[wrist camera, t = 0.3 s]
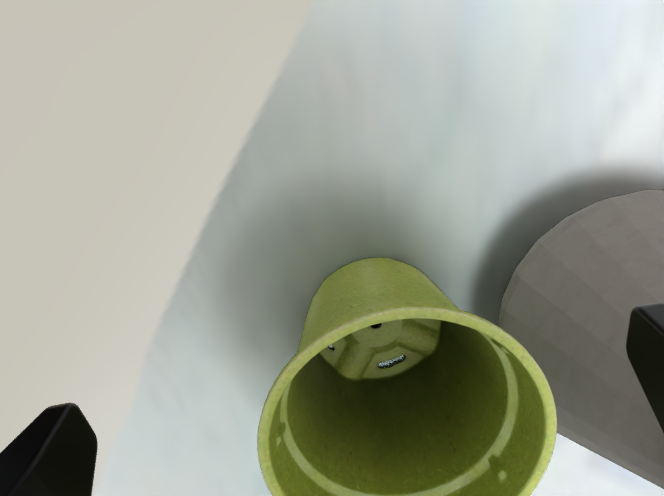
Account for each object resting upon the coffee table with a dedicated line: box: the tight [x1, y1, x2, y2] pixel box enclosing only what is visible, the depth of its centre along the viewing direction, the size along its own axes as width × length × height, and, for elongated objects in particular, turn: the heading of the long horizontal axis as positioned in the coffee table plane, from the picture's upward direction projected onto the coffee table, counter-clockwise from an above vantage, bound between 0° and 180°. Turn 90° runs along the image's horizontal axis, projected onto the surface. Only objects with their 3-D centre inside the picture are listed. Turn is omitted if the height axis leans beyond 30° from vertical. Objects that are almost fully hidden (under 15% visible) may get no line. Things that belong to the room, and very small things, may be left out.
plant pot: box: [257, 258, 557, 496], centre depth 22 cm, size 9×9×9 cm
